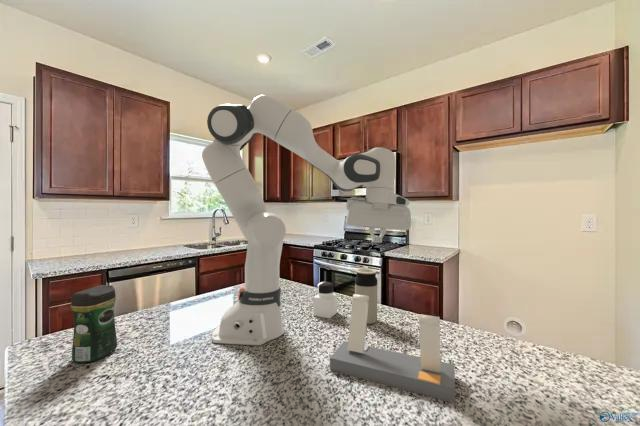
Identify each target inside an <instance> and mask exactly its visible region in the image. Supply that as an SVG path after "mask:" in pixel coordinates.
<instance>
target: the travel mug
mask: <svg viewBox="0 0 640 426" xmlns="http://www.w3.org/2000/svg"><path fill="white" fill-rule="evenodd" d="M377 272H378V271H377V270H376V269H373V268H367V267H366V268H365V267H364V268H357V269H355V273H356V276H355V278H354V294H357V295H365V296H369V303H368V314H367V325H371V324H375V323H377V321H378V278H377V275H376V274H377Z"/></svg>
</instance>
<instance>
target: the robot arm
mask: <svg viewBox="0 0 640 426" xmlns="http://www.w3.org/2000/svg"><path fill="white" fill-rule="evenodd" d="M206 122H207V123H206V124H207V129H208V132H209V133H210V135H211V136H212V137H213V138H214V140H213V141H211V142H210V143H208V144H207V145H206V146H205V147H204V149H203V150H202V152H201V153H202V154H201V159H202V160H203V163H204V166H205V169H206V171H207V173H208V174H209V177H210V179H211V180H212V182H213V184H214V186H215V188H216V189H217V191H218V192H219V194H220V196H221V197H222V199H223V201H224V202H225V204H226V205H227V207H228V209H229V211H230V213H231V215H232V217H233V219H234V221H235V222H236V224H237V226H238V228H239V230H240V231H241V233H242V236H243V237H244V238H245V239H246V240H247V246H246V255H245V256H246V258H245V263H244V286H241V287H240V288H239V290H238V295H237V297H238V298H237V299H238V301H237V302H235V303H234V304H233V305H232V306H230V307H229V308H228V309H226V311H224V313H223V315H222V316H221V318H220V322H219V325H217V327H216V328H215V329H214V330H213V332H212V335H211V341H212V342H213V343H214V344H228V345H230V344H231V345H244V346H245V345H246V346H247V345H248V346H262V345H263V344H266V343H267V342H269V341H273V340H275V339H277V338H279V337H281V336H282V335H283V334H284V333H285V326H284V323H283V318H282V311H281V310H282V309H281V305H282V289H281V286H280V283H281V281H280V273H281V271H280V266H281V265H280V264H281V256H282V251H283V243H284V239H285V237H286V234H287V233H286V232H287V231H286V230H287V229H286V225H285V223H284V221H283V220H282V219H281V218H280V217H279V215H277V214H275V213H272V212H269V211H268V209H267V207H266V204H265V202H264V199H263V197H262V195H261V194H262V193H261V190H260V187H259V186H258V184H257V183H256V181H255V179H254V177H253V176H252V174H251V172H250V170H249V168H248V167H247V165H246V164H245V162H244V160H243V159H242V156H241V153H240V152H241V151H242V150H243V149H244V147H246V146H247V144H249V143H250V142H251V141H252V139H253V137H254V136H255V134H260V135H261V134H262V135H263V136H265V137H267V138H269V139H271V140H272V141H274V142H275V143H277V144H279V145H280V146H282V147H284V148H285V149H287V150H289V151H291V152H292V153H294V154H295V155H298V157H300V158H302V159H303V160H304V161H306V163H308V164H310V165H311V166H313V167H314V168H316V169H318V171H320V172H321V173H323V174H324V175H326V177H328V178H329V180H330V181H331V183H332V184H333V185H334V186H335V188H337V189H338V190H339V191H342V192H352V191H353V190H355V189H357V188H358V187H360V186H365V187H366V188H365V197H357V196H352V197H350V198H348V199H347V200H346V209H347V212H346V218H345V224H346V225H347V226H350V227H361V228H362V227H364V228H368V232H369V234H370V236H371V243H377V244H378V243H379V244H380V243H381V244H382V243H383V238H384V236H385V235H386V233H387V230H395V231H396V230H398V231H409V230H410V229H411V227H412V216H411V215H412V214H411V210H410V208H409V207H408V206H409V204H410V200H409V199H408V198H406V197H403V196H401V195H399V194H396V193H395V185H394V183H395V182H394V181H395V179H396V157H395V154H394V152H393V151H392V150H390V148H385V147H382V146H380V147H379V146H377V147H374V148H371V149H370V150H368V151H365V152H361V153H353V154H351V155H349V156H347V157H346V158H345V159H344V160H339V159H336V158H335V157H334V156H332V155H331V154H329V153H328V152H327V151H326V150H324V149H322V147H321V146H319V144H318V143H317V142H316V139H315V136H314V132H313V131H314V130H313V127H312V124H311V123H310V121H309V120H308V119H307V118H306V117H305V116H304V115H303V114H302V113H300V112H299V111H298V110H295V109H294V108H293V107H291V106H289V105H287V104H286V103H284V102H282V101H280V100H278V99H276V98H274V97H272V96H269V95H268V94H260V95H258V96H256V97H254V98H253V100H252V101H251V102H250V104H249V106H246V105H245V104H234V103H233V104H231V103H224V104H218V105H216V106H215V107H214V108H212V109H211V110H210V111H209V113H208V116H207V120H206ZM376 229H380V230H379V231H380V233H379V236H375V233H374V232H375V231H376Z"/></svg>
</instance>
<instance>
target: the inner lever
mask: <svg viewBox="0 0 640 426" xmlns="http://www.w3.org/2000/svg"><path fill="white" fill-rule="evenodd" d="M368 303H369V296H365V295H357V294H355V293H353V294H352V303H351V311H350V312H351V313H350V322H349V328H348V329H349V331H348V341H347V342H348V347H347V350H351V351H355V352H360V353H364V347H365V344H366V335H367V325H368V324H367V314H368Z"/></svg>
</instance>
